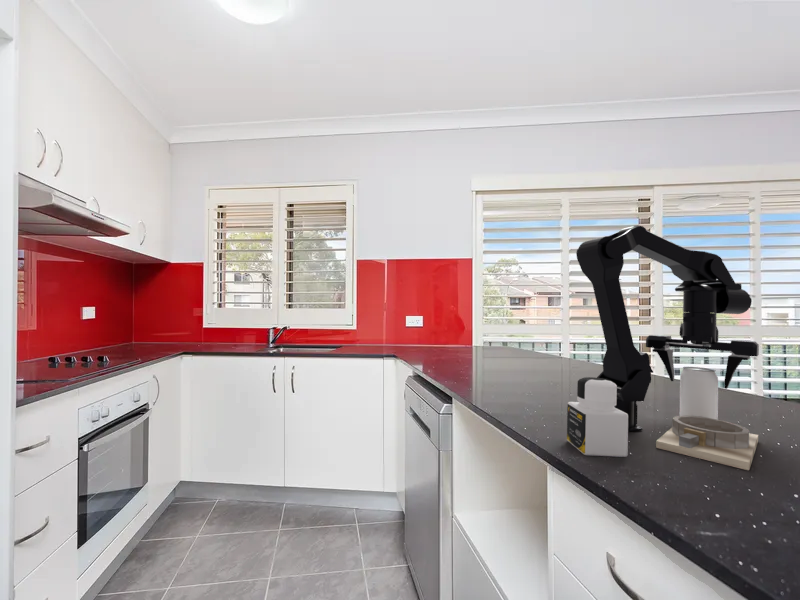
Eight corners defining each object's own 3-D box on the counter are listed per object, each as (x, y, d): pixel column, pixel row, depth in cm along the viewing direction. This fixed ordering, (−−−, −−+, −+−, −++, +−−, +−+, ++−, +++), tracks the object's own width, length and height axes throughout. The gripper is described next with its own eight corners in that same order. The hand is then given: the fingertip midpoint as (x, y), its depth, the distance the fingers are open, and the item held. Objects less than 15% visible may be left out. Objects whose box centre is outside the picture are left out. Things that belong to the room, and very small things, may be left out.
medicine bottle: (566, 440, 69) (567, 374, 69) (605, 442, 68) (607, 375, 69) (584, 455, 61) (585, 382, 62) (628, 457, 61) (629, 383, 61)
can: (703, 420, 84) (704, 367, 85) (725, 429, 78) (726, 371, 78) (672, 418, 85) (673, 365, 85) (692, 427, 79) (693, 370, 79)
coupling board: (749, 470, 57) (749, 446, 58) (656, 447, 66) (656, 426, 66) (758, 441, 71) (758, 421, 71) (680, 425, 80) (680, 408, 80)
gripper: (761, 314, 81) (760, 387, 80) (658, 312, 94) (656, 374, 94) (757, 314, 73) (756, 394, 73) (645, 311, 87) (644, 379, 86)
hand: (698, 384), depth 82 cm, fingers open, 9 cm apart
